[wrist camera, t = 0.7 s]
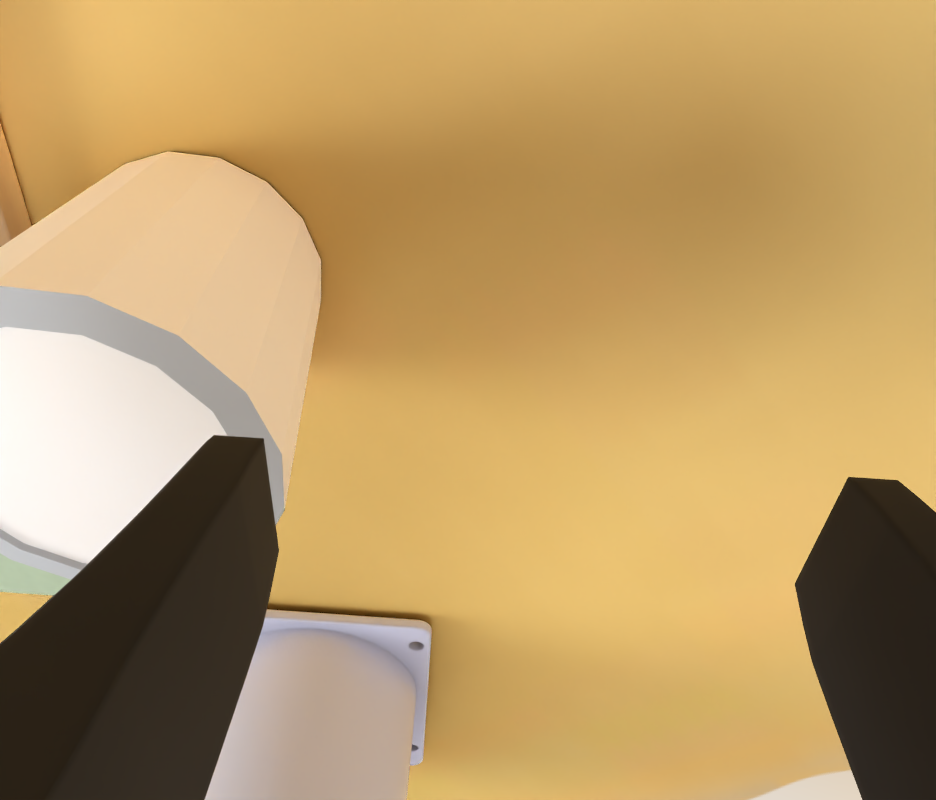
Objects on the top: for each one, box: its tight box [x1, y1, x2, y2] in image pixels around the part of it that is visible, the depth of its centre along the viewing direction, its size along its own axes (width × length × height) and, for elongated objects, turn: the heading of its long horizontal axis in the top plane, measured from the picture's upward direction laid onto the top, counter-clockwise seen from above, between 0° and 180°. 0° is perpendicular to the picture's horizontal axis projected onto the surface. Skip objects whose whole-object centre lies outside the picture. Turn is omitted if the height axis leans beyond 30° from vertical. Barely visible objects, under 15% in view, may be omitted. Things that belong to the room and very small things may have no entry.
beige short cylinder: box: [0, 151, 321, 580], centre depth 16 cm, size 7×7×7 cm
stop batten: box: [0, 123, 32, 247], centre depth 18 cm, size 12×1×1 cm, turn 176°
